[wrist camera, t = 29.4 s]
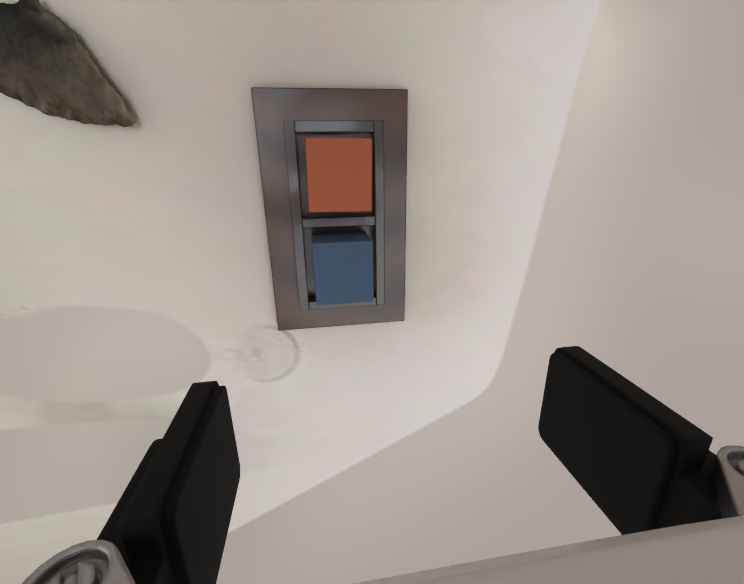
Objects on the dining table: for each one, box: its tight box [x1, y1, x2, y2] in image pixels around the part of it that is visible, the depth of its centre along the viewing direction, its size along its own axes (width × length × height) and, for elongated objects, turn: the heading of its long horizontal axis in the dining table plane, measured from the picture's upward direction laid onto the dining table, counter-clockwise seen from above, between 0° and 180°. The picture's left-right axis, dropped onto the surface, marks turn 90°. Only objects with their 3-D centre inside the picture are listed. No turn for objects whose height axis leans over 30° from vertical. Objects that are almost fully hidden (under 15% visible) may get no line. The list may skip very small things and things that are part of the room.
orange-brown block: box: [305, 138, 372, 212], centre depth 28 cm, size 5×5×4 cm
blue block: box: [312, 231, 374, 306], centre depth 31 cm, size 5×5×4 cm
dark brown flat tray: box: [251, 87, 408, 330], centre depth 31 cm, size 20×12×2 cm, turn 2°
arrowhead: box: [0, 0, 136, 127], centre depth 25 cm, size 7×10×1 cm
